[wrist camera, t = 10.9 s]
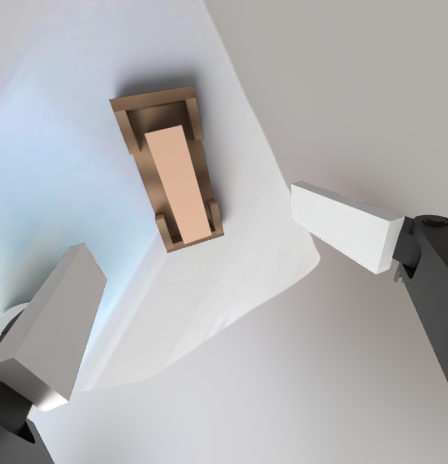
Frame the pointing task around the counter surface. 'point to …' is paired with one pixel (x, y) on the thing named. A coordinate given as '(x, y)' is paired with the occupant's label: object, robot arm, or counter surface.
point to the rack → (133, 130)
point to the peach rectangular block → (179, 182)
